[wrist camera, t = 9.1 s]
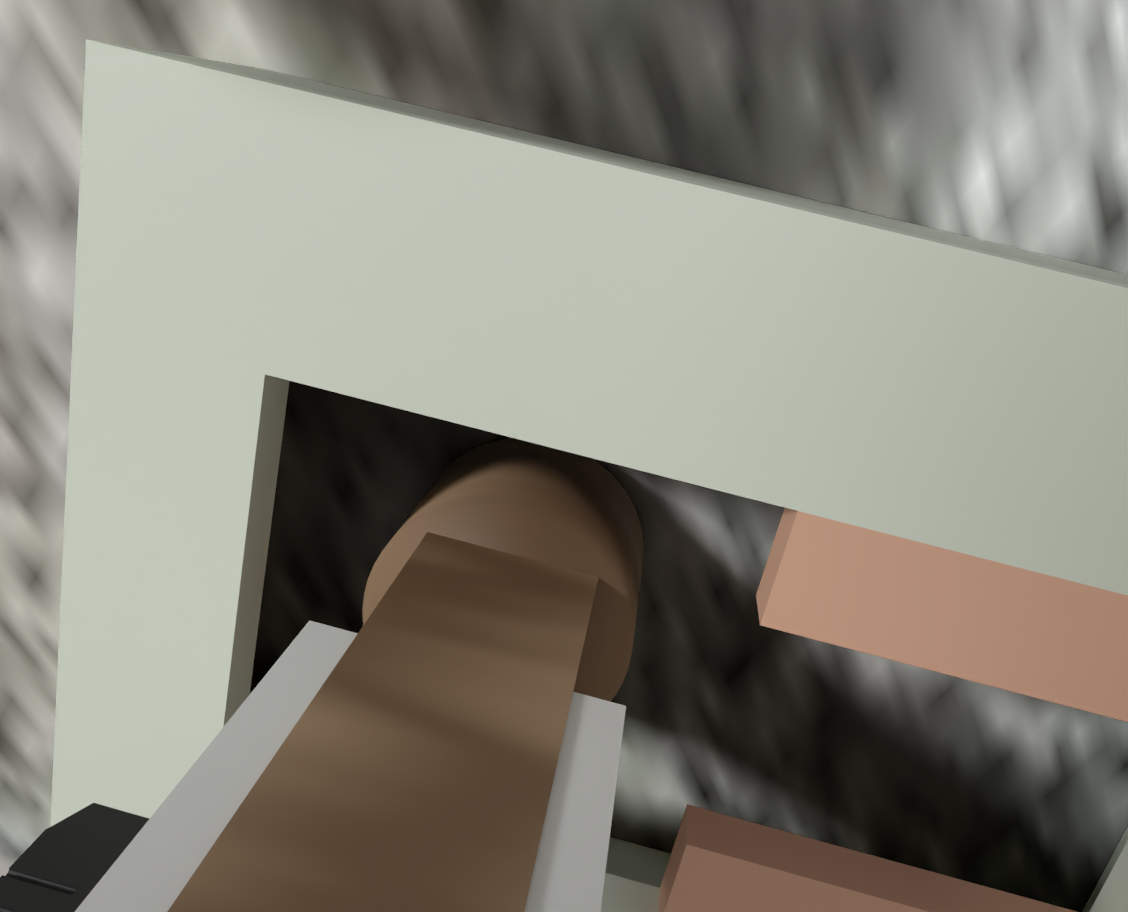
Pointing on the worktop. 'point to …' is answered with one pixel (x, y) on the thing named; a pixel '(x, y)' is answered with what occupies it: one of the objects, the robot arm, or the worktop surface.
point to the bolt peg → (445, 701)
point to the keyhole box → (571, 416)
